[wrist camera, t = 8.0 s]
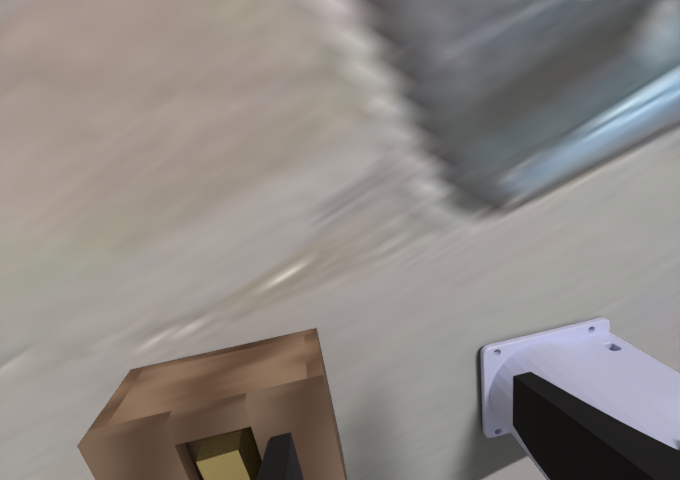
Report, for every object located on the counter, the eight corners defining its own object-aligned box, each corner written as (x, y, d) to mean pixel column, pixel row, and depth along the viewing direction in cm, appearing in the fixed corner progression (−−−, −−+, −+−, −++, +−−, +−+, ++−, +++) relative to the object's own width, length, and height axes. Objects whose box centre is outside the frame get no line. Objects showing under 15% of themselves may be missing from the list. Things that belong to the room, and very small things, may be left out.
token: (249, 383, 20) (238, 450, 15) (271, 443, 21) (266, 519, 17) (216, 392, 20) (195, 462, 15) (241, 452, 21) (228, 531, 17)
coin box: (316, 328, 20) (325, 386, 15) (341, 448, 23) (355, 528, 18) (130, 369, 19) (76, 446, 14) (183, 490, 22) (153, 586, 17)
